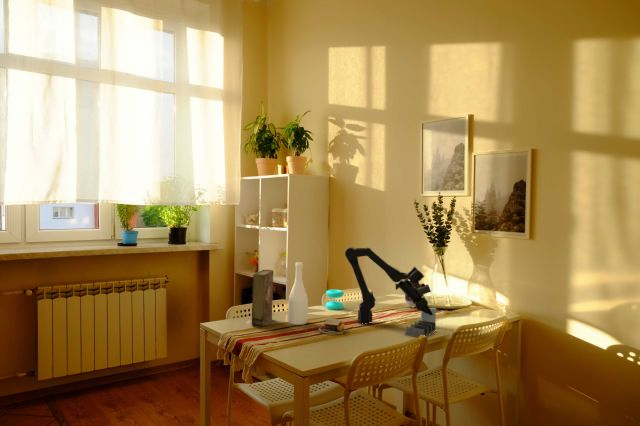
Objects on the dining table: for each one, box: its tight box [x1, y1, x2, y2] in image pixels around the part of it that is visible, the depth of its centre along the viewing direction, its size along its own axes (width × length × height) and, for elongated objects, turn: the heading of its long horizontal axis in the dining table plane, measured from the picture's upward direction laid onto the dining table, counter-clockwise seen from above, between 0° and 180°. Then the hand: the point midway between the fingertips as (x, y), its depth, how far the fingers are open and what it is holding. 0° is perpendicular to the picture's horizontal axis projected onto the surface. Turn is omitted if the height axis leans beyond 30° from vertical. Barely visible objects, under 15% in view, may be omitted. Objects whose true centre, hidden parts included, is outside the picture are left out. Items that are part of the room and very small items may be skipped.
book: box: [251, 269, 274, 327], centre depth 250 cm, size 16×6×25 cm, turn 168°
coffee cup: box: [404, 280, 422, 306], centre depth 297 cm, size 10×10×15 cm
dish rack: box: [404, 319, 437, 338], centre depth 240 cm, size 9×16×4 cm, turn 147°
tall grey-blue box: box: [420, 307, 437, 324], centre depth 254 cm, size 7×3×9 cm, turn 85°
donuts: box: [325, 289, 345, 311], centre depth 288 cm, size 10×10×10 cm
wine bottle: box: [287, 261, 309, 326], centre depth 252 cm, size 10×10×30 cm
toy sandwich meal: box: [318, 318, 346, 336], centre depth 239 cm, size 12×14×5 cm
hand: (431, 313), depth 253 cm, fingers open, 8 cm apart
